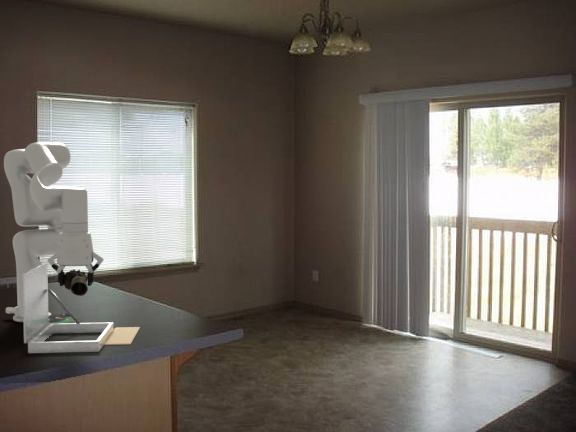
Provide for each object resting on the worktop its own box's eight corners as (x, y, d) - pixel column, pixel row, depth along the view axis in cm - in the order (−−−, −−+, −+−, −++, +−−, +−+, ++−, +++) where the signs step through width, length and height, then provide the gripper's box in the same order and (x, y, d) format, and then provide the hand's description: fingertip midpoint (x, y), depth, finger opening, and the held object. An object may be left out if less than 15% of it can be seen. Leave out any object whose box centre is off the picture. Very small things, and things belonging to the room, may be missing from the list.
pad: (103, 345, 189) (103, 343, 189) (115, 328, 209) (115, 327, 209) (130, 344, 190) (130, 343, 190) (139, 328, 209) (139, 326, 209)
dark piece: (88, 295, 183) (87, 276, 183) (63, 297, 181) (63, 278, 181) (87, 284, 200) (86, 267, 199) (64, 285, 198) (64, 268, 197)
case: (24, 353, 180) (22, 274, 179) (47, 332, 203) (45, 262, 202) (99, 351, 182) (97, 273, 181) (113, 331, 205) (112, 261, 204)
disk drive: (36, 325, 216) (51, 332, 205) (36, 316, 216) (51, 324, 205) (66, 320, 223) (82, 327, 212) (66, 312, 223) (82, 319, 211)
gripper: (41, 229, 186) (43, 288, 187) (101, 229, 188) (102, 287, 189) (49, 227, 194) (50, 283, 195) (106, 227, 195) (107, 282, 196)
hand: (76, 284), depth 192 cm, fingers closed on dark piece, 7 cm apart
